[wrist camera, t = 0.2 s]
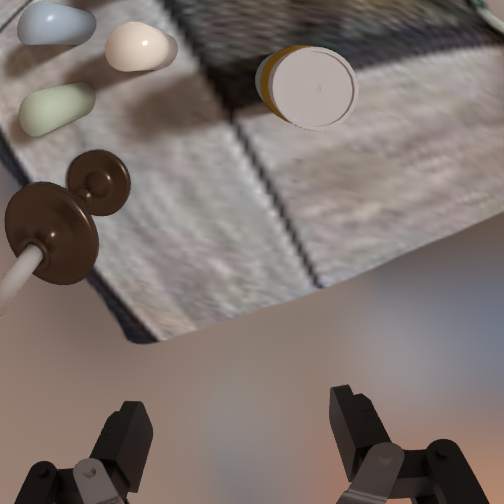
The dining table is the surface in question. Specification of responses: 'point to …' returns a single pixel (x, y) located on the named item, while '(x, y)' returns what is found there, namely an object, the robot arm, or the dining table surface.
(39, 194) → the candlestick
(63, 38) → the dusty blue canister
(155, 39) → the cream canister
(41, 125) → the sage canister
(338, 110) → the bottle
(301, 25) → the dining table surface
